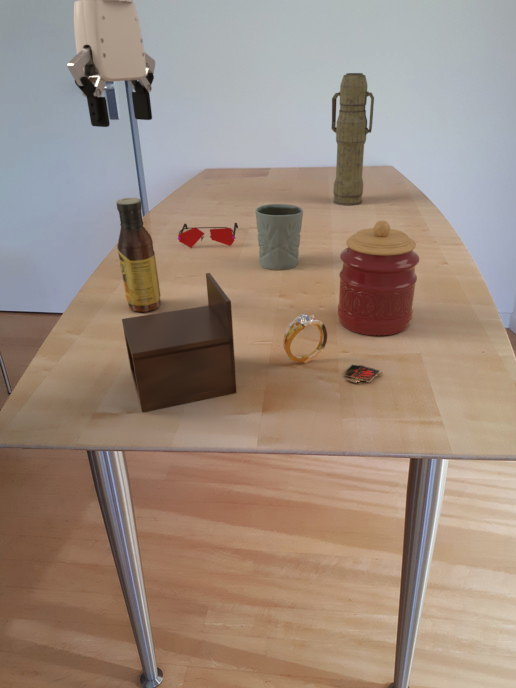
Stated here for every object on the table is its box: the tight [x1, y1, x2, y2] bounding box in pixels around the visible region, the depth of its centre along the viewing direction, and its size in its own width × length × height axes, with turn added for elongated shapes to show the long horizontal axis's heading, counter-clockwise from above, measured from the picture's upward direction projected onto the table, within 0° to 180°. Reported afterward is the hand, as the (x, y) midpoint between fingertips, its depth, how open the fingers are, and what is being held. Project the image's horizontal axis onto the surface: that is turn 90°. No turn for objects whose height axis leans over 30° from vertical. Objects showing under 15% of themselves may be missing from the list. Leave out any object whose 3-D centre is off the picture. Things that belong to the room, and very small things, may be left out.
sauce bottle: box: [116, 197, 162, 313], centre depth 97 cm, size 6×6×20 cm
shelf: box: [121, 272, 237, 413], centre depth 76 cm, size 13×11×14 cm
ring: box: [282, 312, 328, 364], centre depth 82 cm, size 7×3×8 cm, turn 111°
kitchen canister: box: [337, 220, 420, 337], centre depth 92 cm, size 13×13×18 cm
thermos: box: [331, 72, 375, 206], centre depth 160 cm, size 9×12×35 cm
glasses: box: [177, 222, 239, 249], centre depth 137 cm, size 14×16×5 cm
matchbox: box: [344, 364, 383, 384], centre depth 80 cm, size 5×5×1 cm
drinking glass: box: [255, 203, 304, 271], centre depth 119 cm, size 10×10×12 cm
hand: (123, 122), depth 86 cm, fingers open, 9 cm apart
